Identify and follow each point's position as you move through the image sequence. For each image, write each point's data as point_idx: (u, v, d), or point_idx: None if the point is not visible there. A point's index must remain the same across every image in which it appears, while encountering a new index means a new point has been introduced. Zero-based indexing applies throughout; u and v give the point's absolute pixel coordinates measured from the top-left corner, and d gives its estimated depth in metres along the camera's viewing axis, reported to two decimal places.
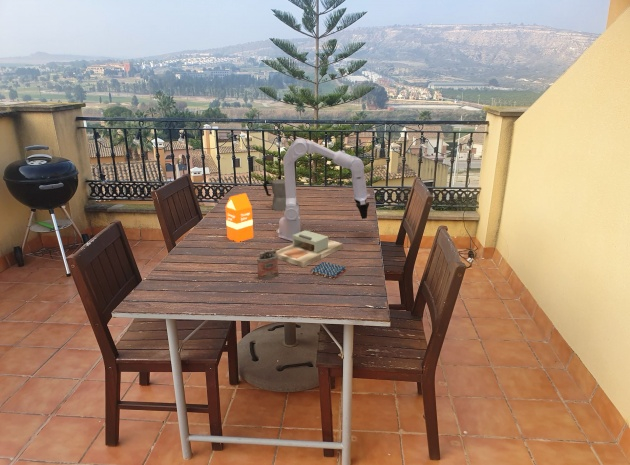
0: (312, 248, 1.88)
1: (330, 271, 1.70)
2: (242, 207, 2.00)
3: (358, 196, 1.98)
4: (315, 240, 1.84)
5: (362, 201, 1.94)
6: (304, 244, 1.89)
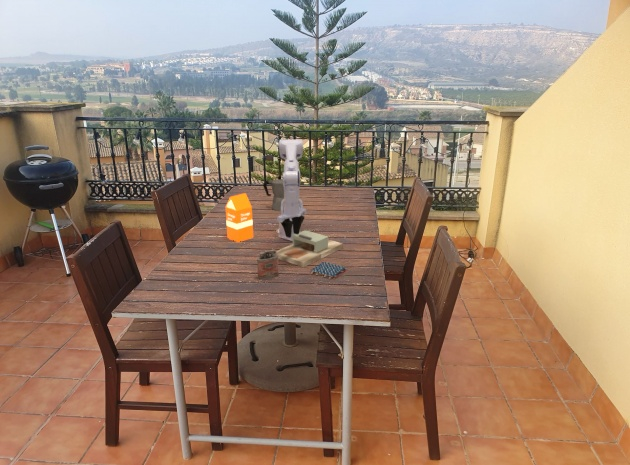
0: (312, 248, 1.88)
1: (330, 271, 1.70)
2: (242, 207, 2.00)
3: (285, 212, 1.75)
4: (315, 240, 1.84)
5: (279, 218, 1.72)
6: (304, 244, 1.89)
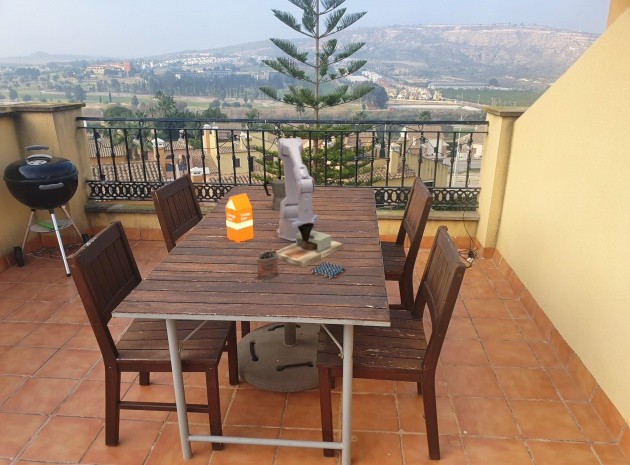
0: (312, 248, 1.88)
1: (330, 271, 1.70)
2: (242, 207, 2.00)
3: (298, 218, 1.83)
4: (318, 239, 1.86)
5: (293, 224, 1.79)
6: (304, 244, 1.89)
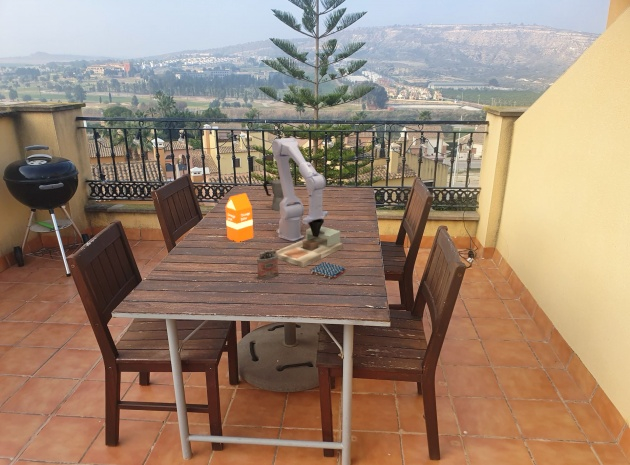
0: (312, 248, 1.88)
1: (330, 271, 1.70)
2: (242, 207, 2.00)
3: (309, 214, 1.88)
4: (328, 234, 1.90)
5: (304, 220, 1.84)
6: (304, 244, 1.89)
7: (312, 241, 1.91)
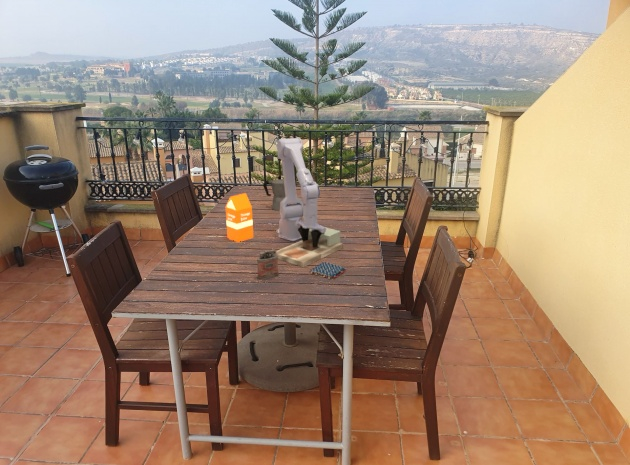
0: (312, 248, 1.88)
1: (329, 271, 1.70)
2: (242, 207, 2.00)
3: None
4: (328, 234, 1.90)
5: None
6: (304, 244, 1.89)
7: None
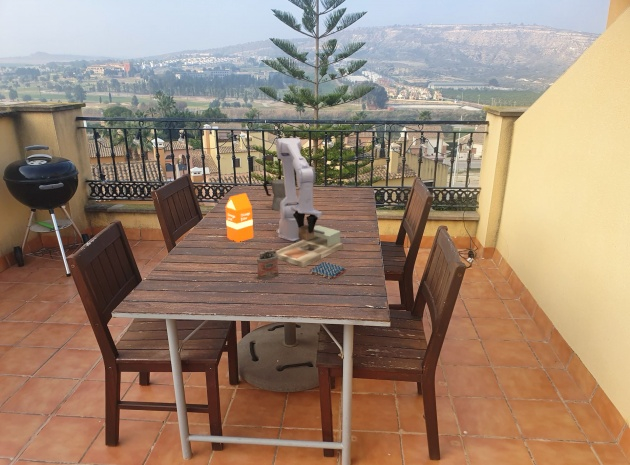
0: (308, 233, 1.84)
1: (329, 271, 1.70)
2: (242, 207, 2.00)
3: None
4: (328, 234, 1.90)
5: None
6: (300, 230, 1.85)
7: None
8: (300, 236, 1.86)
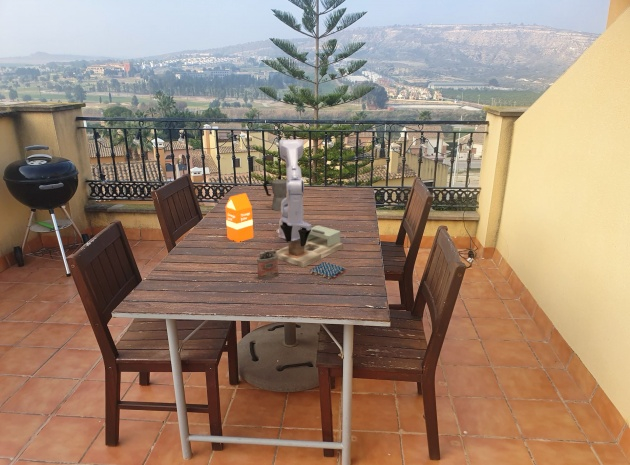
0: (298, 249, 1.81)
1: (329, 271, 1.70)
2: (242, 207, 2.00)
3: None
4: (328, 234, 1.90)
5: None
6: (290, 245, 1.82)
7: (298, 242, 1.83)
8: (290, 251, 1.83)
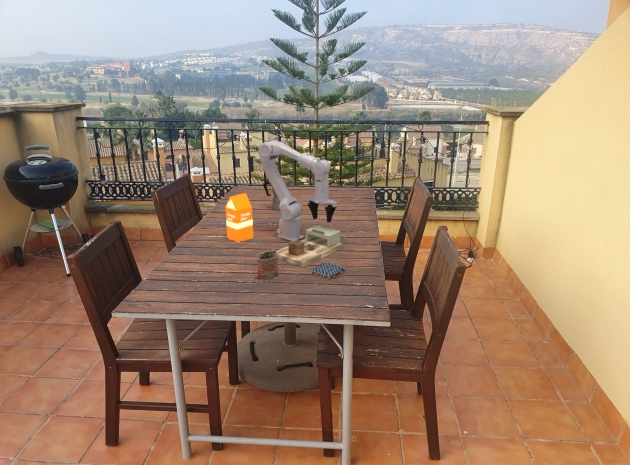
0: (298, 249, 1.81)
1: (329, 271, 1.70)
2: (242, 207, 2.00)
3: None
4: (328, 234, 1.90)
5: None
6: (290, 245, 1.82)
7: (298, 242, 1.83)
8: (290, 251, 1.83)
